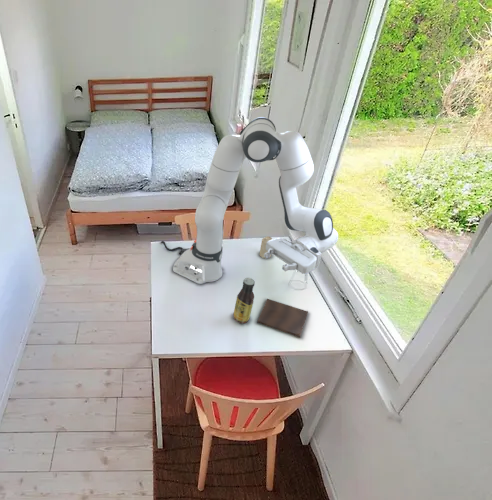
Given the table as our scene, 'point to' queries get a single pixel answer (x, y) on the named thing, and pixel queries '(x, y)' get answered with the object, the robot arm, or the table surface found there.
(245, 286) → the sauce bottle
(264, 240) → the candle
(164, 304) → the table surface
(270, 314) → the serving board
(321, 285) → the table surface
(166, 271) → the table surface
